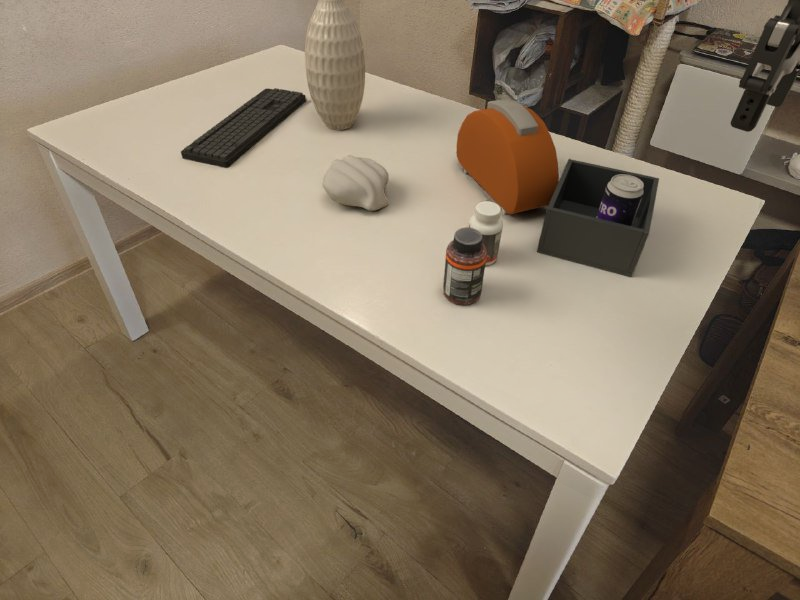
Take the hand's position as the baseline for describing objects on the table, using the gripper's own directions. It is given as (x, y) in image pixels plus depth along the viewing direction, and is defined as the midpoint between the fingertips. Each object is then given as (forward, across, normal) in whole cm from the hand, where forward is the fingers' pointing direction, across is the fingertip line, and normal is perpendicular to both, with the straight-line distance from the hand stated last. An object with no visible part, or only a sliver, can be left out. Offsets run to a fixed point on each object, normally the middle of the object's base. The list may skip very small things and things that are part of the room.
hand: (756, 115), depth 57 cm
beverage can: (+32, +13, +15) cm, 38 cm away
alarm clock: (+32, +15, +39) cm, 53 cm away
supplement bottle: (+33, -14, +25) cm, 44 cm away
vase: (+32, +10, +82) cm, 89 cm away
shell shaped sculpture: (+32, -8, +56) cm, 65 cm away
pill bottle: (+33, -4, +29) cm, 44 cm away
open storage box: (+32, +14, +19) cm, 40 cm away
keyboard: (+32, -5, +96) cm, 101 cm away
